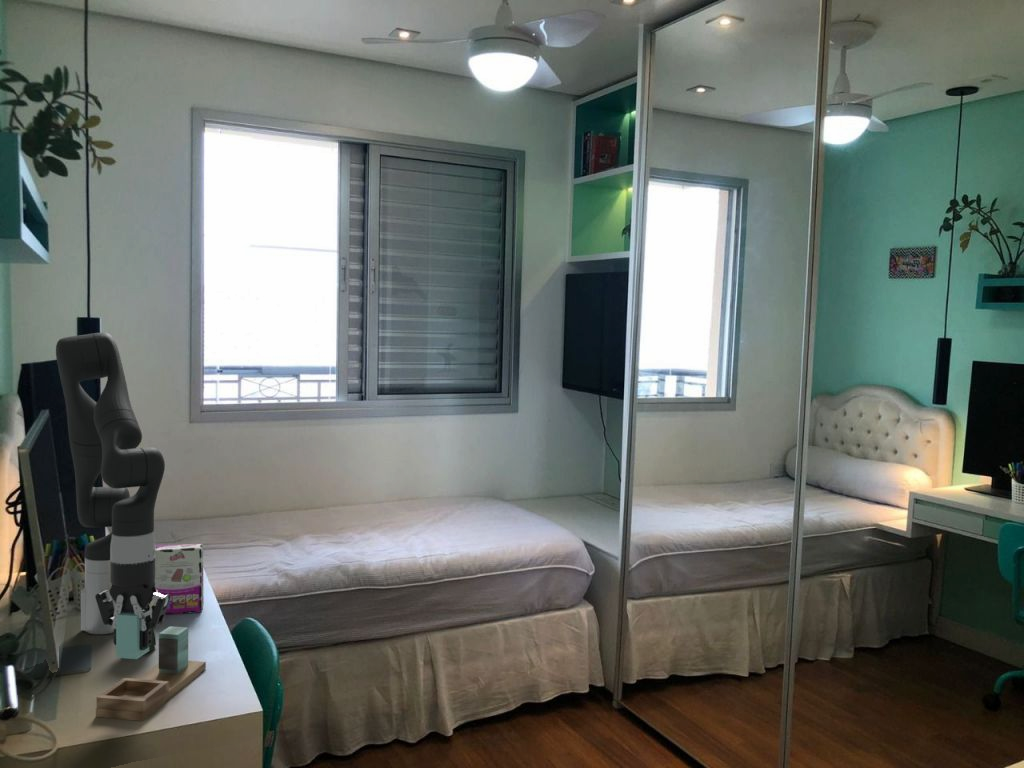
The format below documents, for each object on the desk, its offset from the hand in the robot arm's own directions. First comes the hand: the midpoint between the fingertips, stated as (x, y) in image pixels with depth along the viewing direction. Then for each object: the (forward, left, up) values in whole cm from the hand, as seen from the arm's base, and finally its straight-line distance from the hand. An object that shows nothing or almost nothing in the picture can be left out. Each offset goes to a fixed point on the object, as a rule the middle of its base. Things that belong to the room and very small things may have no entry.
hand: (133, 647), depth 150 cm
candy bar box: (-19, +50, -12) cm, 55 cm away
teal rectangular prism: (0, 0, -1) cm, 1 cm away
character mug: (-14, +25, -12) cm, 31 cm away
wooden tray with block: (0, +7, -11) cm, 13 cm away
